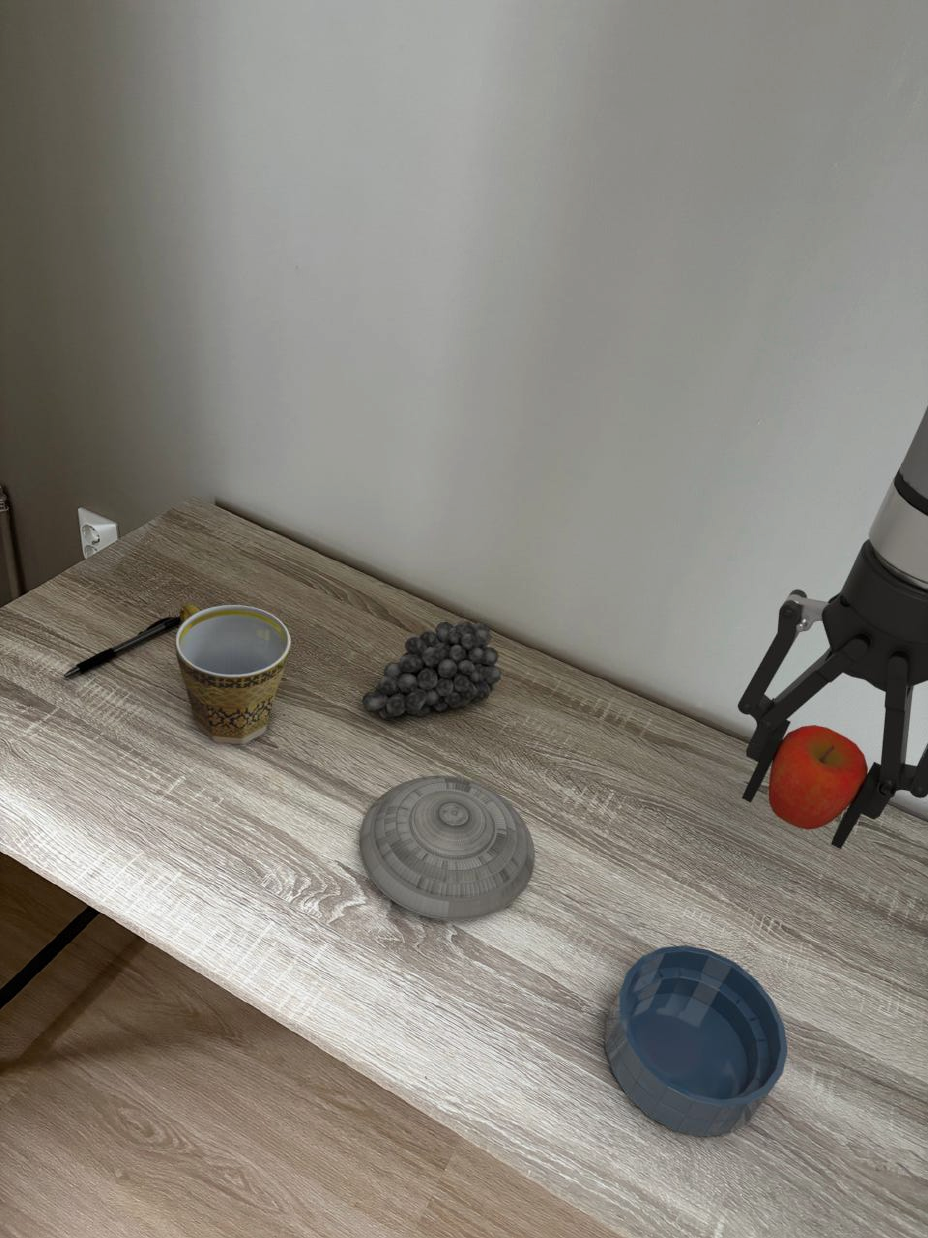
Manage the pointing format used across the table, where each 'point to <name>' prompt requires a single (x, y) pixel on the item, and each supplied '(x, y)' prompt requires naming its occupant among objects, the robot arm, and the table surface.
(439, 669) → the fruit
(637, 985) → the bowl
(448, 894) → the flying saucer
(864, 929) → the table surface
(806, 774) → the apple
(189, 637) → the ceramic cup
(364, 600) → the table surface
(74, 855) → the table surface
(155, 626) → the pen
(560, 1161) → the table surface
